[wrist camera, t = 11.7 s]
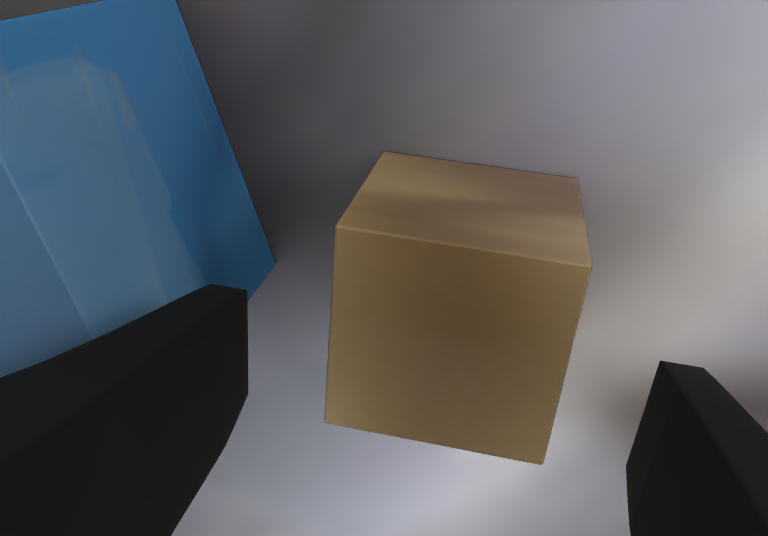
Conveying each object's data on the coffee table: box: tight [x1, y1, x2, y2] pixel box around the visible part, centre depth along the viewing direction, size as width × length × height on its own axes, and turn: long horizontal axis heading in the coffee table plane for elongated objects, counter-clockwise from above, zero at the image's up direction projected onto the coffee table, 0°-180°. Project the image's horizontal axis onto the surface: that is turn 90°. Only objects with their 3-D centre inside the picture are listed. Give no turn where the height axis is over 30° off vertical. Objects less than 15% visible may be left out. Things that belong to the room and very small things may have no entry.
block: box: [324, 152, 592, 465], centre depth 13 cm, size 4×4×4 cm
